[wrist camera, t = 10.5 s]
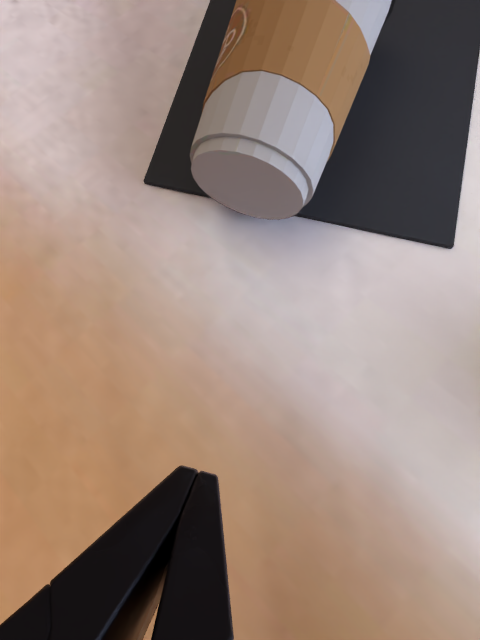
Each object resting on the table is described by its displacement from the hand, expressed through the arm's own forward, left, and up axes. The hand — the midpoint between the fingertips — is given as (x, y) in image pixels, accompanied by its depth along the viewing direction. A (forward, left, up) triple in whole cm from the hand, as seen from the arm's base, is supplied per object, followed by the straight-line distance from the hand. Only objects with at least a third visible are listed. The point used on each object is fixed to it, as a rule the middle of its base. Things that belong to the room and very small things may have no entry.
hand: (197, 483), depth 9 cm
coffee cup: (+9, +10, -9) cm, 16 cm away
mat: (+20, +16, -13) cm, 28 cm away
